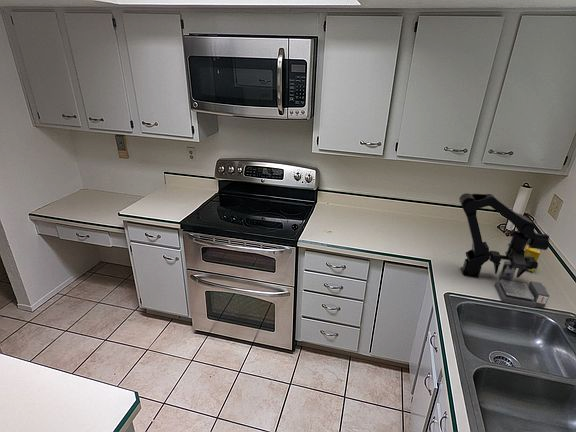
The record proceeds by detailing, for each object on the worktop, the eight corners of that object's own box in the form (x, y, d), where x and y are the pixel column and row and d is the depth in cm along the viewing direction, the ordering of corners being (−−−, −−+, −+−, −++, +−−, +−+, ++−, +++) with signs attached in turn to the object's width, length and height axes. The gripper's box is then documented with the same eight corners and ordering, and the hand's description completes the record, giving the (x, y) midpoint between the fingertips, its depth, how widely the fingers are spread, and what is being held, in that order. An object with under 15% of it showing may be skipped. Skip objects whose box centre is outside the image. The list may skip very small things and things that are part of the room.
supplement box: (520, 263, 174) (527, 244, 170) (534, 268, 171) (542, 248, 166) (518, 268, 170) (525, 248, 166) (532, 273, 167) (540, 253, 162)
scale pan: (506, 294, 145) (507, 292, 145) (499, 281, 154) (500, 279, 153) (533, 299, 143) (534, 297, 142) (525, 285, 152) (526, 283, 151)
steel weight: (500, 281, 159) (505, 266, 156) (497, 275, 164) (502, 260, 160) (512, 283, 158) (518, 268, 155) (509, 277, 163) (514, 262, 159)
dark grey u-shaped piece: (502, 301, 146) (506, 289, 143) (494, 285, 156) (498, 273, 154) (545, 309, 142) (551, 297, 140) (534, 292, 153) (539, 280, 150)
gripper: (498, 250, 149) (488, 281, 155) (548, 258, 145) (535, 289, 151) (492, 238, 158) (482, 268, 165) (538, 245, 154) (526, 275, 161)
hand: (506, 275), depth 160 cm, fingers open, 9 cm apart
